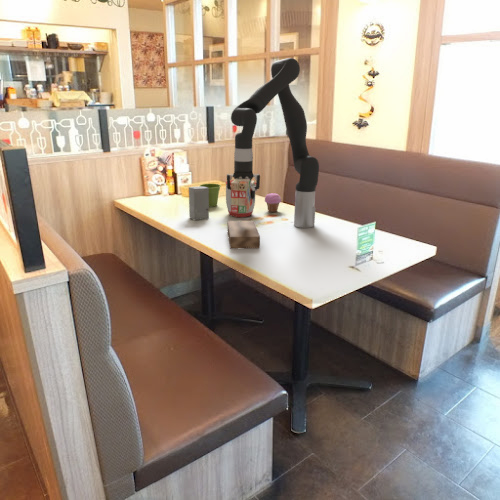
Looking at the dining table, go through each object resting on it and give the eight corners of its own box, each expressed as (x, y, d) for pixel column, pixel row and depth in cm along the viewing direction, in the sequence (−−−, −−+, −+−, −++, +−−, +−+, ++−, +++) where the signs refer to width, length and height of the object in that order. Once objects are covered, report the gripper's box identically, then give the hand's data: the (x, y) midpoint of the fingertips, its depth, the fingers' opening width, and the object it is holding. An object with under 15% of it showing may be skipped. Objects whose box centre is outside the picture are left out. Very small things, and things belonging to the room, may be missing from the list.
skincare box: (194, 220, 221) (194, 189, 215) (188, 217, 226) (187, 186, 221) (210, 218, 225) (209, 187, 220) (203, 215, 231) (202, 185, 225)
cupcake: (280, 213, 236) (281, 195, 233) (264, 213, 236) (265, 194, 233) (280, 209, 245) (280, 191, 241) (264, 209, 245) (264, 191, 241)
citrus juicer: (264, 215, 232) (265, 177, 225) (236, 220, 222) (236, 180, 216) (246, 209, 244) (247, 172, 237) (219, 213, 234) (219, 175, 228)
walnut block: (253, 231, 205) (253, 220, 204) (259, 248, 183) (259, 236, 181) (227, 231, 204) (227, 220, 203) (230, 248, 182) (230, 237, 180)
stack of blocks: (240, 200, 200) (241, 173, 196) (254, 201, 199) (255, 173, 195) (230, 212, 180) (230, 182, 176) (246, 213, 179) (246, 182, 175)
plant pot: (197, 204, 254) (196, 184, 250) (216, 202, 259) (216, 182, 255) (204, 208, 244) (203, 188, 240) (224, 206, 249) (224, 186, 245)
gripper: (259, 158, 187) (259, 197, 192) (225, 158, 185) (225, 197, 191) (262, 160, 179) (261, 201, 185) (226, 160, 178) (226, 201, 184)
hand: (243, 199), depth 188 cm, fingers closed on stack of blocks, 7 cm apart
